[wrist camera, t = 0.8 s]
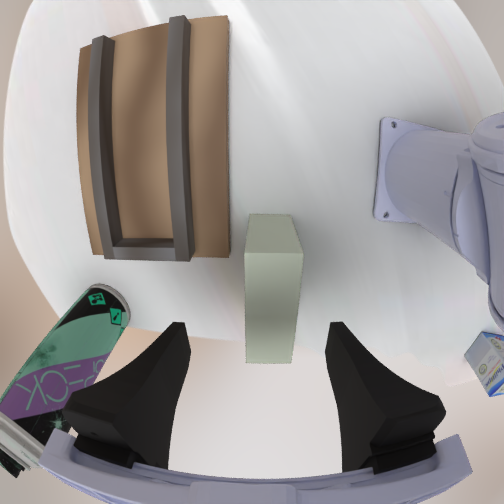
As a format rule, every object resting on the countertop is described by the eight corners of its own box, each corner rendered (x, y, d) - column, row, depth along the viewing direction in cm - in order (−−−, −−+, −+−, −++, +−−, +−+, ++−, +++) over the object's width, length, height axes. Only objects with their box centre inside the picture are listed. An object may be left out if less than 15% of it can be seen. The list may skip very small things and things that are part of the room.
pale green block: (290, 214, 20) (303, 253, 14) (284, 304, 23) (291, 363, 17) (249, 213, 20) (244, 252, 14) (249, 304, 23) (245, 363, 17)
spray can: (118, 335, 26) (39, 493, 8) (79, 304, 25) (-21, 447, 6) (139, 308, 24) (44, 497, 6) (96, 273, 23) (-33, 437, 5)
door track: (229, 21, 14) (223, 4, 11) (230, 251, 21) (225, 269, 19) (88, 51, 14) (67, 44, 12) (99, 249, 22) (82, 263, 19)
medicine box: (503, 334, 25) (530, 370, 18) (487, 357, 27) (511, 394, 19) (480, 330, 25) (512, 373, 17) (462, 355, 27) (489, 399, 19)
